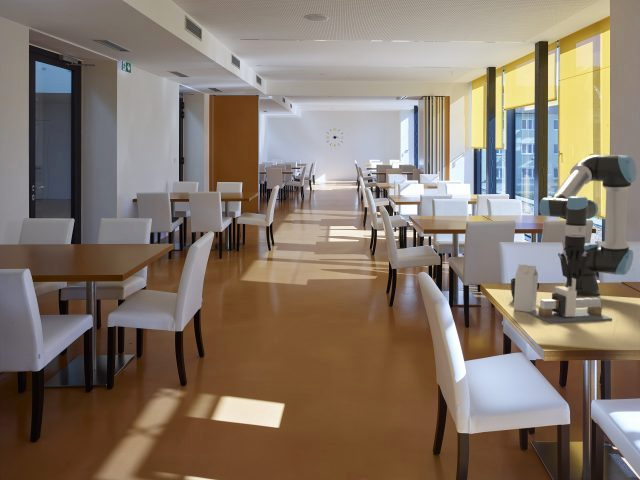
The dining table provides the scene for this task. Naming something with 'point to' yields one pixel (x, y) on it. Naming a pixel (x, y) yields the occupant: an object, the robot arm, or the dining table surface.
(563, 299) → the ring
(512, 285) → the mug
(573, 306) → the sleeve
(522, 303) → the milk carton
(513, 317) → the dining table surface
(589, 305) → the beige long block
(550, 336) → the dining table surface
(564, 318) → the board
